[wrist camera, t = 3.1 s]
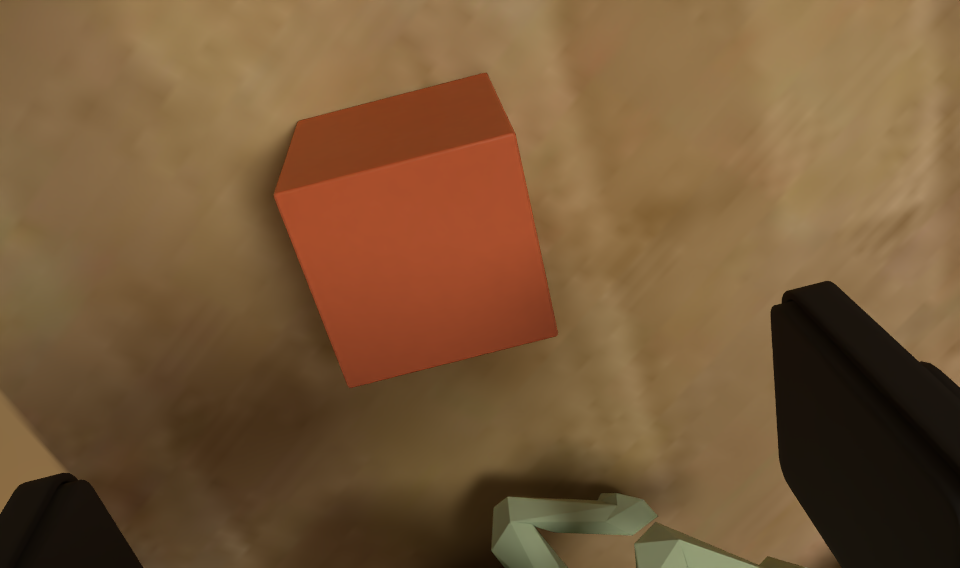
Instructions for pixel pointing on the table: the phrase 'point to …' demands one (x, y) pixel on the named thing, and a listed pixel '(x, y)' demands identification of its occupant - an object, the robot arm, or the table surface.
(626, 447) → the table surface
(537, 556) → the statue
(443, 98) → the terracotta block
